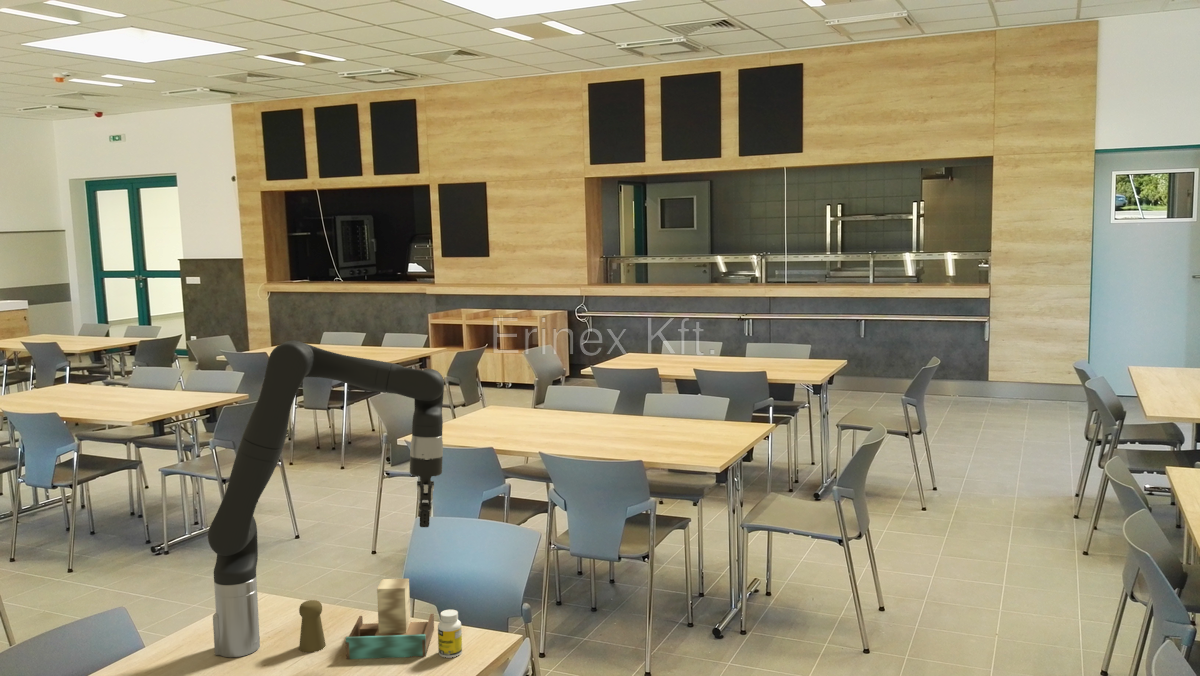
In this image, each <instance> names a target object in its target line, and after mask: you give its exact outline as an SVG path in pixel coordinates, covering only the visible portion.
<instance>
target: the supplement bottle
mask: <svg viewBox="0 0 1200 676" xmlns="http://www.w3.org/2000/svg"><path fill="white" fill-rule="evenodd" d="M462 630H463V628H462V622H461V621H460V620H459V611H458V610H455V609H445V610H442V611H441V612H440V621H439V622H438V625H437V643H438V644H437V646H438V647H437V648H438V655H439V656H440V657H442V658H445V657H446V658H447V659H451V658H452V657H453V658H456V656H457V657H459V656H460V655H462V654H463V653H462V652H463V638H462V637H463V636H462V634H463V633H462V632H463V631H462ZM458 655H459V656H458ZM446 658H445V659H446Z"/></svg>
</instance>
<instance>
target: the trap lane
mask: <svg viewBox="0 0 1200 676" xmlns="http://www.w3.org/2000/svg"><path fill="white" fill-rule="evenodd" d="M434 617H435V615H434V613H430V614H429V619H428V621H413V622H411V621H410V624H409V627H408V630H407V632H406V633H384V634H379V625H378V622H377V623H375V622H373V623H370V622H369V623H364V621H363V615H359V616H358V617H357V620H356V622H355V624H354V626H353V628H352V629H351V632H350V634H349V635H348V636H346V637H345V653H346V655H345V656H346V660H357V659H358V660H359V659H360V660H361V659H362V660H363V659H388V658H394V659H395V658H413V657H412V656H425V657H426V656H427V653H428V650H429V648H430V644H431V641H432V638H433V635H434V631H435V618H434ZM410 656H411V657H410Z"/></svg>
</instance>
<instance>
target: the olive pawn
mask: <svg viewBox="0 0 1200 676" xmlns="http://www.w3.org/2000/svg"><path fill="white" fill-rule="evenodd" d="M298 611H299V615H300V616H301V626H300V636H299V637H300V638H299V647H298V650H299V651H300V652H301V651H302V653H305V652H311V653H315V652H314V651H317V652H320V651H322V650H323V648H324V647H325V646H327V644H326V639H325V635H324V629H323V624H322V623H323V622H322V618H321V614H322V612H323V605H322V603H321V601H319V600H317V599H316V600H315V599H311V600H310V599H309V600H306V601H304V602H302V603H301V604H300V605H299V608H298ZM325 648H326V647H325ZM325 648H324V649H325ZM321 649H322V650H321ZM319 650H320V651H319Z"/></svg>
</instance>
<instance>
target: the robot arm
mask: <svg viewBox="0 0 1200 676" xmlns="http://www.w3.org/2000/svg"><path fill="white" fill-rule="evenodd" d="M305 378H321V379H329V380H333V381H339V382H342V383H345V384H347V385H348V384H349V385H351V386H354V387H358V388H360V389H365V390H369V391H374V392H379V393H384V394H385V393H387V394H395V395H396V394H397V395H400V396H404V397H407V398H410V399H414V411H413V415H412V425H411V427H412V428H411V441H410V448H409V449H410V451H409V453H410V454H409V474H410V475H412V476H415V477H419V480H416V491H417V502H418V503H419V507H418V509H419V511H418V512H419V514H418V516H419V527H420V528H429V527H430V516H431V515H430V514H431V513H430V512H431V510H432V502H433V498H434V495H433V494H434V490H435V481H434V480H432V479H431V478H432V477H439V476H440V475H442V473H443V452H444V442H443V426H444V425H443V421H444V420H443V406H444V405H443V404H444V392H445V391H444V390H445V380H444V377H443V375H442V373H440V372H439V371H438V370H436V369H433V368H427V369H416V368H409V367H404V366H403V365H401V364H398V363H393V362H388V361H382V360H377V359H370V358H364V357H358V356H350V355H346V354H341V353H336V352H333V351H329V350H325V349H322V348H320V347H316V346H313V345H311V344H308V343H305V342H302V341H300V340H295V339H293V340H286V341H283V342H282V343H280V344H278V345H277V346H275V347H274V348H273V350H271V353H270V354H269V356H268V360H267V364H266V370H265V374H264V378H263V382H262V386H261V390H260V394H259V396H258V400H257V401H256V404H255V406H254V408H253V410H252V412H251V414H250V417H249V420H248V422H247V424H246V427H245V429H244V432H243V434H242V437H241V440H240V443H239V445H238V449H237V452H236V455H235V458H234V461H233V465H232V468H231V473H230V476H229V480H228V484H227V487H226V489H225V494H224V496H223V499H222V500H221V503H220V505H219V507H218V510H217V511H216V513H215V516H214V517H213V520H212V521H211V524H210V526H209V528H208V530H207V542H208V545H209V547H210V549H211V550H212V551H213V552H214V553H215V554H216V561H215V564H214V565H215V566H214V568H213V585H214V599H215V600H214V601H215V603H214V604H215V612H214V614H213V615H212V628H213V629H212V630H213V643H214V645H213V646H214V656H221V657H226V658H239V657H244V656H247V655H250V654H253V653H254V652H257V651H258V650H259V649H260V647H261V644H260V642H261V641H260V638H261V637H260V636H261V635H260V623H259V622H260V621H259V620H260V619H259V618H260V617H259V602H258V582H257V565H258V557H259V555H258V553H259V549H258V547H259V546H258V545H259V544H258V526H257V521H256V519H255V517H254V513H255V510H256V508H257V504H258V502H259V499H260V497H261V495H262V494H263V493H264V490H265V488H266V487H267V485H268V483H269V482H270V480H271V478H272V476H273V475H274V472H275V469H276V467H277V465H278V463H279V460H280V457H281V454H282V452H283V449H284V445H285V442H286V439H287V434H288V430H289V428H288V427H289V423H290V422H289V421H290V413H291V409H292V405H293V403H294V401H295V398H296V396H297V393H298V391H299V389H300V388H301V387H300V386H301V384H302V382H303V380H304V379H305Z"/></svg>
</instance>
